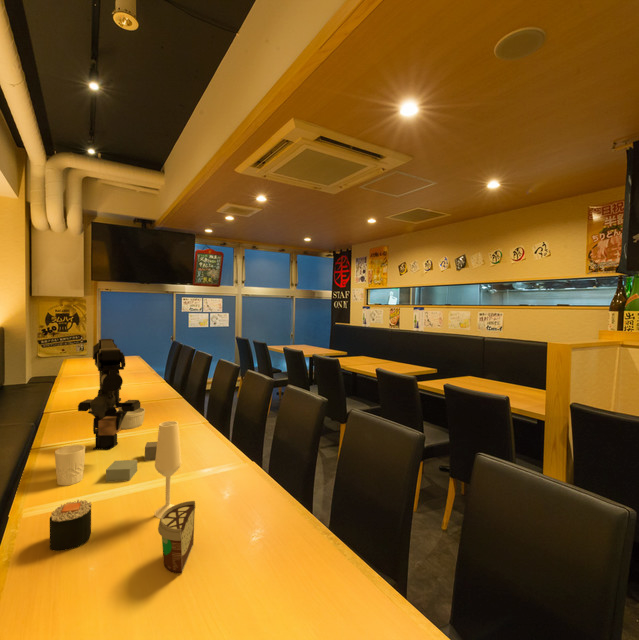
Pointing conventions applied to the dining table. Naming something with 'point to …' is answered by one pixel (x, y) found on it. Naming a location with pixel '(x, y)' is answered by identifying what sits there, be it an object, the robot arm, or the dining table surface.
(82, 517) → the sushi
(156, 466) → the champagne flute
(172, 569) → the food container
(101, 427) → the walnut block
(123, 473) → the base block
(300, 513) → the dining table surface
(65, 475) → the white cup
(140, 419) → the ramekin
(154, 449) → the brown block
